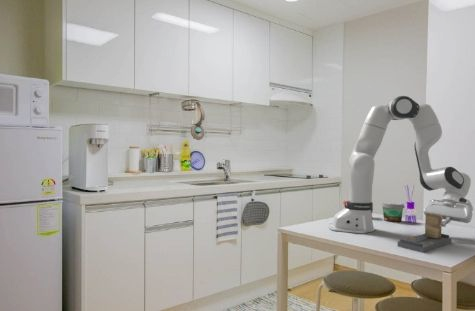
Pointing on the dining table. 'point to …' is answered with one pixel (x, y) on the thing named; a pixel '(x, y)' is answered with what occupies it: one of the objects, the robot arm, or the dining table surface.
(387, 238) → the dining table surface
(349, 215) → the robot arm
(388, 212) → the food container
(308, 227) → the dining table surface
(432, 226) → the fader knob
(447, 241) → the fader track
